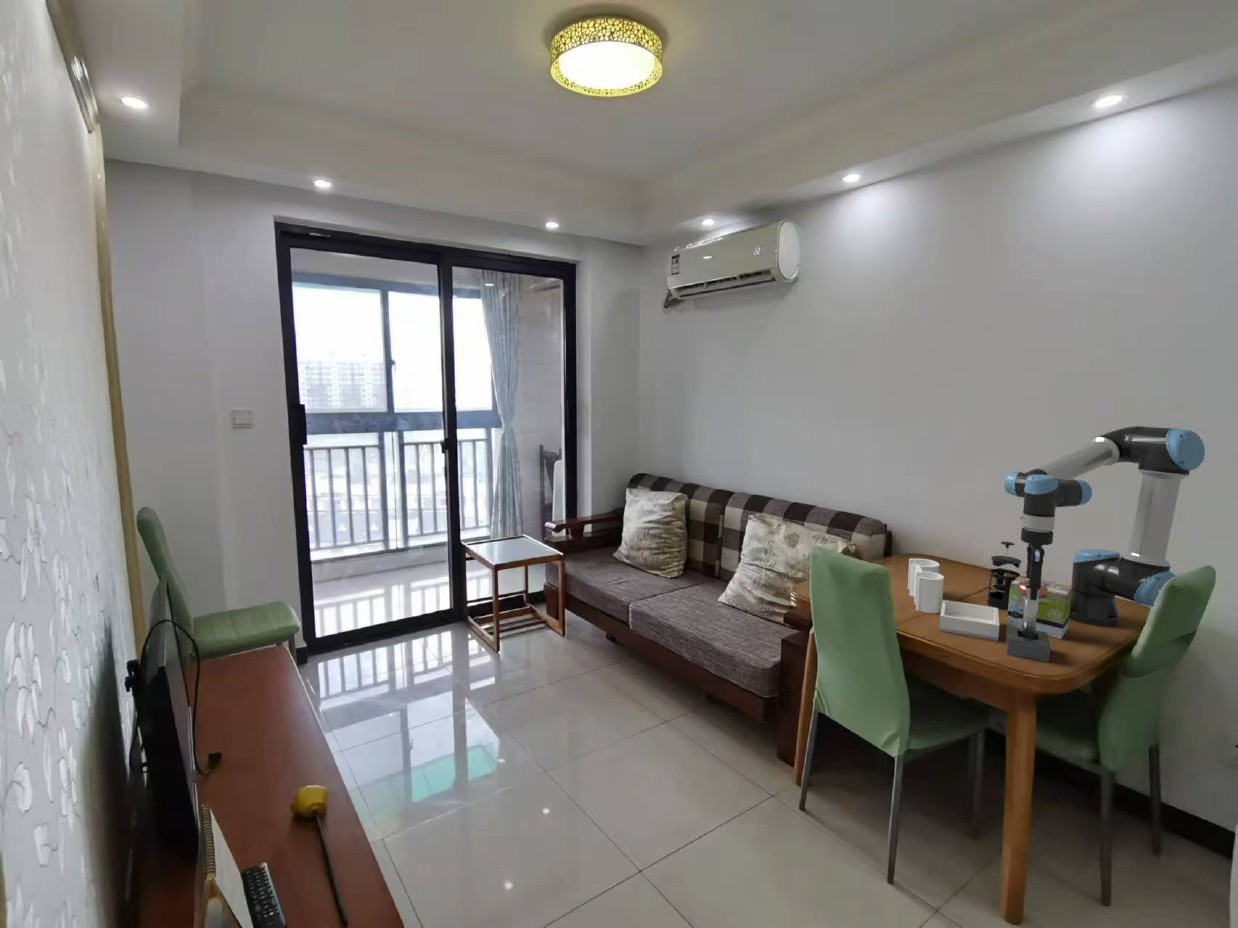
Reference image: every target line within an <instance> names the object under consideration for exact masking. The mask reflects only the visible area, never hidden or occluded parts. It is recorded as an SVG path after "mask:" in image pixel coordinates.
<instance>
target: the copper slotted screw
mask: <svg viewBox="0 0 1238 928" xmlns="http://www.w3.org/2000/svg"><path fill="white" fill-rule="evenodd" d="M1036 585H1037V584H1036ZM1026 586H1029V582H1019V583H1018V593H1019V594H1021V595H1023V596H1025V604H1024V615H1023V627H1022V636H1023V637H1026V638H1030V639H1033V638H1035V631H1036V620H1037V611H1034V610H1027V609H1026V605H1027V593H1028V588H1026ZM1046 597H1047V587H1046V586H1045V585H1042V584H1041V589H1040V591H1039V598H1046Z"/></svg>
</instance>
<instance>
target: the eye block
mask: <svg viewBox="0 0 1238 928" xmlns="http://www.w3.org/2000/svg"><path fill="white" fill-rule="evenodd" d="M1005 649H1006V650H1005V651H1006V654H1007V655H1009V656H1015V657H1019V658H1025V659H1031V660H1034V661H1035V660H1037V661H1040V662H1046V663H1049V661H1050V653H1051V643H1050V639H1049V636H1048V635H1047V632H1041V631H1035V638H1033V639H1030V638H1026V637H1023V636H1022V628H1017V627H1012V626H1007V625H1006V634H1005Z"/></svg>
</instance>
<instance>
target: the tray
mask: <svg viewBox="0 0 1238 928" xmlns="http://www.w3.org/2000/svg"><path fill="white" fill-rule="evenodd" d="M999 617H1000V616H999V609H998V608H994V607H991V606H989V605H988V606H987V605H981V604H976V603H975V604H972V603H967V602H961V601H955V600H948V599H943V600H942V607H941V612H940V617H939V628H938V631H941V632H945V633H952V634H957V635H961V636H962V635H963V636H969V637H974V638H979V639H985V640H988V641H989V640H992V641H996V642H999V635H1000V634H999V633H1000V618H999Z"/></svg>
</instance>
